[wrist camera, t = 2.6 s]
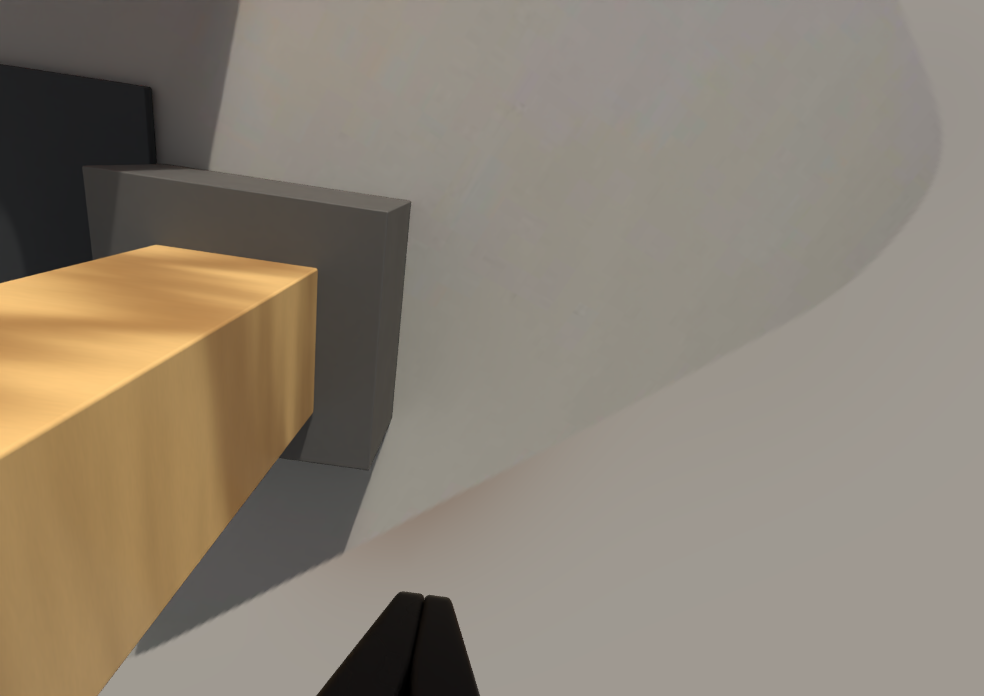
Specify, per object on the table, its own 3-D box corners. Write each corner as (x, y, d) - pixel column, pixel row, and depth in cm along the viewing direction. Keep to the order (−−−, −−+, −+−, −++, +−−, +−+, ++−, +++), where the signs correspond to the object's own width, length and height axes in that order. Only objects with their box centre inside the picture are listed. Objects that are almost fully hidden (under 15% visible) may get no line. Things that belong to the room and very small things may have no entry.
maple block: (318, 267, 16) (-252, 601, 4) (313, 412, 18) (-98, 956, 6) (155, 243, 16) (-947, 513, 4) (165, 391, 18) (-580, 904, 6)
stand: (411, 200, 19) (388, 211, 16) (392, 418, 22) (368, 470, 19) (164, 163, 19) (80, 165, 15) (178, 388, 22) (112, 435, 18)
